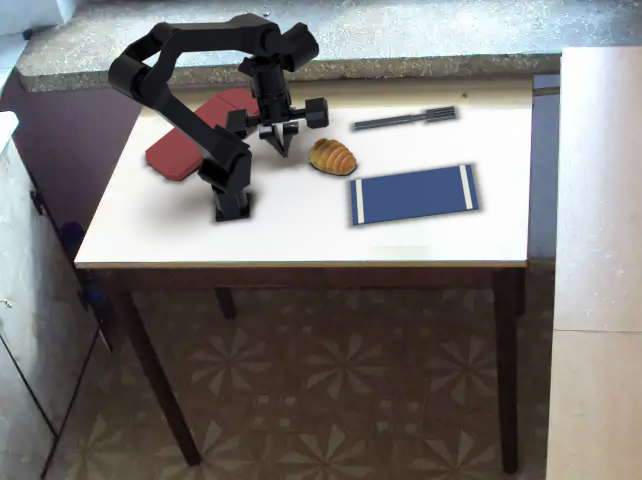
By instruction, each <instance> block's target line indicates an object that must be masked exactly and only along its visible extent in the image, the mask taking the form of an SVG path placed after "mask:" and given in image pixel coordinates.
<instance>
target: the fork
mask: <svg viewBox="0 0 642 480" xmlns="http://www.w3.org/2000/svg"><path fill="white" fill-rule="evenodd" d="M456 117H457V116H456V111H455V106H454V105H451V106H444V107H443V106H442V107H436V108H431V109H426V110H425V113H419V114H412V115H411V114H406V115H400V116H393V117H385V118H379V119H370V120H365V121H357V122H354V130H356V131H357V130H366V129H372V128H377V127H378V128H379V127H385V126H392V125H399V124H405V123H412V122H415V121H421V120H426V121H427V123H430V122H431V123H432V122H439V121H444V120H445V121H446V120H452V119H456Z"/></svg>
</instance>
